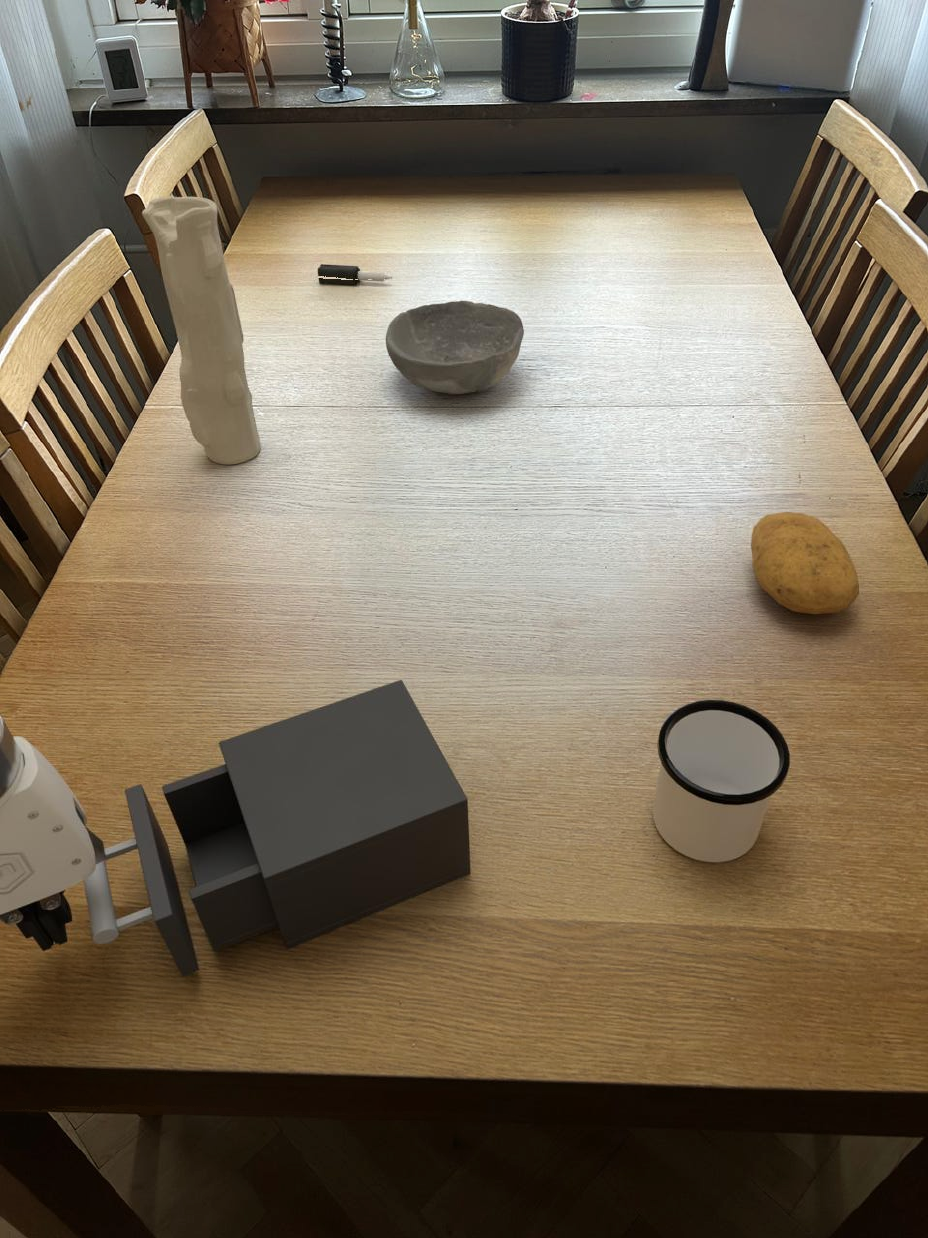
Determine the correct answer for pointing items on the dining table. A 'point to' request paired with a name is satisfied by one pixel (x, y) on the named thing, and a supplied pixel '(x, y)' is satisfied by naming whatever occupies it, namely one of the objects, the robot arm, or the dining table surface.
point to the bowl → (455, 345)
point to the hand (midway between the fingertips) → (53, 928)
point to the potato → (803, 564)
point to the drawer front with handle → (218, 863)
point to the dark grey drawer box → (348, 810)
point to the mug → (716, 778)
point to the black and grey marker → (348, 274)
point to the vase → (205, 327)
